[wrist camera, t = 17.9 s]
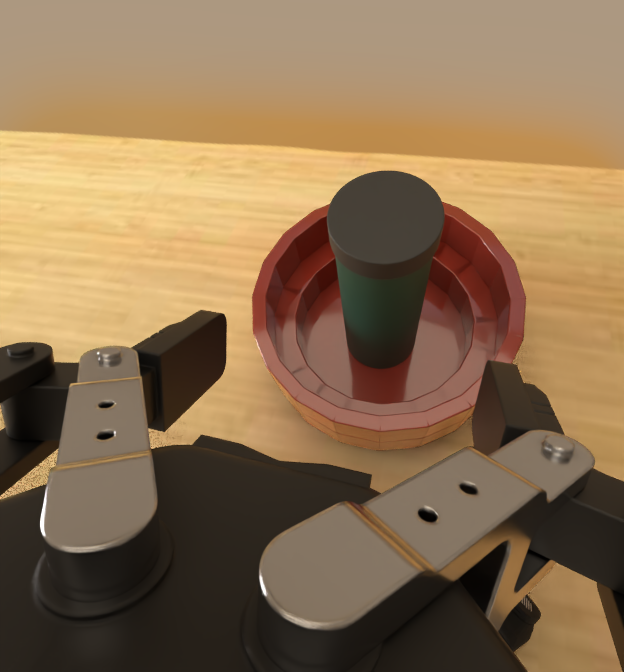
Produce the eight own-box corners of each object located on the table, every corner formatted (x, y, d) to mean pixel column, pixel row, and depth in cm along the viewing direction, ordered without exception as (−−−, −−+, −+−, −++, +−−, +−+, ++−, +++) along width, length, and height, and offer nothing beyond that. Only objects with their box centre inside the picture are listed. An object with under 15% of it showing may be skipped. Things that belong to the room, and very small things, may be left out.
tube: (422, 311, 29) (451, 175, 18) (411, 377, 28) (436, 271, 17) (352, 300, 30) (340, 165, 19) (337, 363, 29) (314, 255, 18)
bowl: (505, 263, 31) (532, 205, 26) (485, 477, 26) (515, 461, 20) (302, 237, 34) (289, 181, 29) (247, 424, 29) (217, 397, 23)
